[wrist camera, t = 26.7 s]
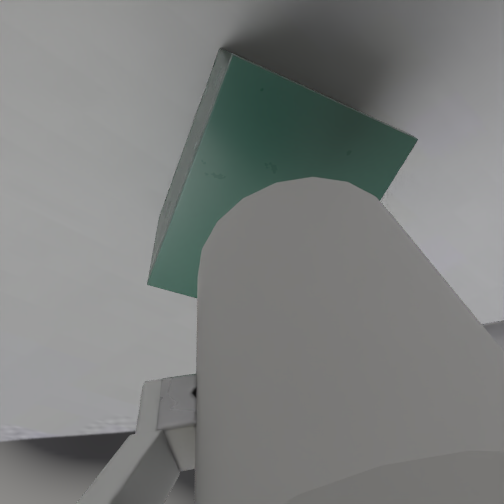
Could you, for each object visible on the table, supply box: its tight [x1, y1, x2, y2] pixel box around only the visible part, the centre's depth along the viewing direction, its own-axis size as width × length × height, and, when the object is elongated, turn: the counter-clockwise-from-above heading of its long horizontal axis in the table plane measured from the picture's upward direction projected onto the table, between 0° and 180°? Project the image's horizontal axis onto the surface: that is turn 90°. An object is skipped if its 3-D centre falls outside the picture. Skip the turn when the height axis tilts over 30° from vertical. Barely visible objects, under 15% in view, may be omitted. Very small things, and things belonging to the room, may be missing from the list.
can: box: [195, 177, 504, 504], centre depth 11 cm, size 8×8×12 cm
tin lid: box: [147, 53, 418, 298], centre depth 26 cm, size 14×11×1 cm
